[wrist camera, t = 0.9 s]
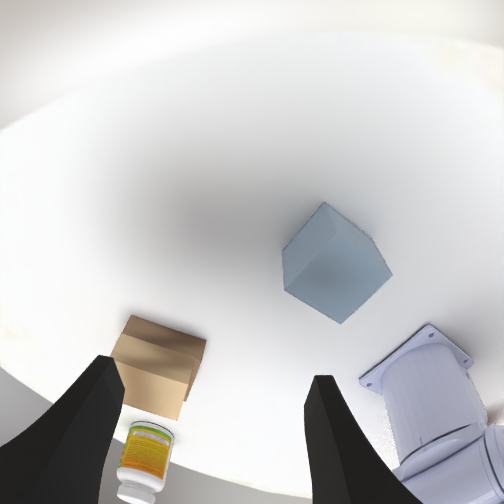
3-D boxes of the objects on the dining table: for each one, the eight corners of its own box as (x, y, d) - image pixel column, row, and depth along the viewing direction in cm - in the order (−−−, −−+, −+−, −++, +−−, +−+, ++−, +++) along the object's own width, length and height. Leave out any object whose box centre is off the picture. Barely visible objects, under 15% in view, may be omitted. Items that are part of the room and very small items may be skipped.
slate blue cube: (372, 239, 19) (392, 274, 15) (330, 283, 20) (340, 324, 17) (324, 201, 18) (337, 232, 14) (281, 251, 19) (284, 290, 16)
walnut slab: (207, 336, 24) (201, 360, 21) (190, 379, 26) (185, 401, 24) (132, 311, 23) (121, 333, 21) (127, 358, 26) (118, 379, 23)
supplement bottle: (125, 416, 31) (102, 488, 22) (169, 424, 30) (152, 501, 22) (137, 438, 33) (119, 502, 25) (178, 445, 33) (164, 512, 25)
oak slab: (195, 356, 21) (188, 384, 19) (182, 396, 24) (177, 420, 22) (121, 332, 21) (108, 358, 18) (119, 375, 23) (110, 398, 21)
